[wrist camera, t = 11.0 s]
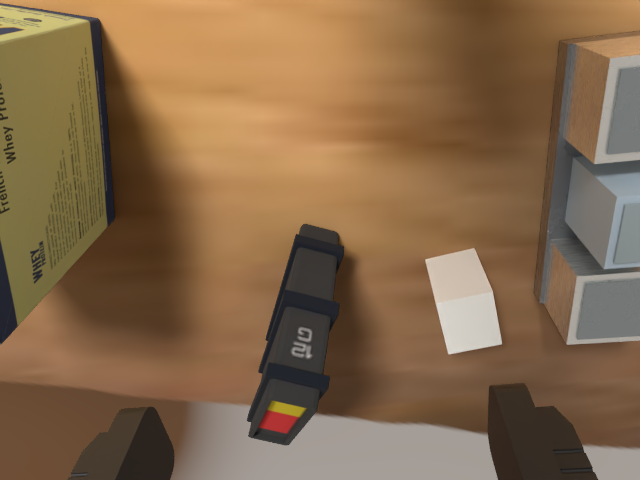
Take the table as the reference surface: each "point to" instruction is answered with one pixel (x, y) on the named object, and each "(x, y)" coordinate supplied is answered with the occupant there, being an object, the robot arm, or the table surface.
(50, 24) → the protein box
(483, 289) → the block
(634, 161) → the block
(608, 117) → the grey notched bar
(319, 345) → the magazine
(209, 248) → the table surface
